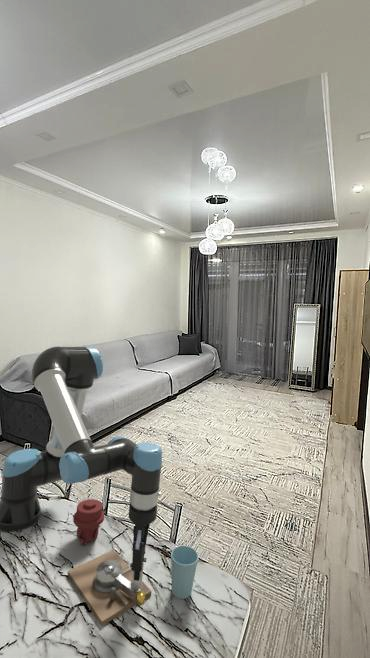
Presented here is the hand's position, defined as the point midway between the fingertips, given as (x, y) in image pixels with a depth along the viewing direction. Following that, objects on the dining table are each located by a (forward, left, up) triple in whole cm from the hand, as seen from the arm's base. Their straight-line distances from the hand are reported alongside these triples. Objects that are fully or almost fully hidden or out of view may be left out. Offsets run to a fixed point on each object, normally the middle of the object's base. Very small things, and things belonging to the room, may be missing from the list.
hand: (136, 587), depth 89 cm
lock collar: (-3, -3, -1) cm, 4 cm away
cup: (+6, +11, -3) cm, 13 cm away
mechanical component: (-29, 0, -3) cm, 29 cm away
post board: (-8, -4, -3) cm, 9 cm away
